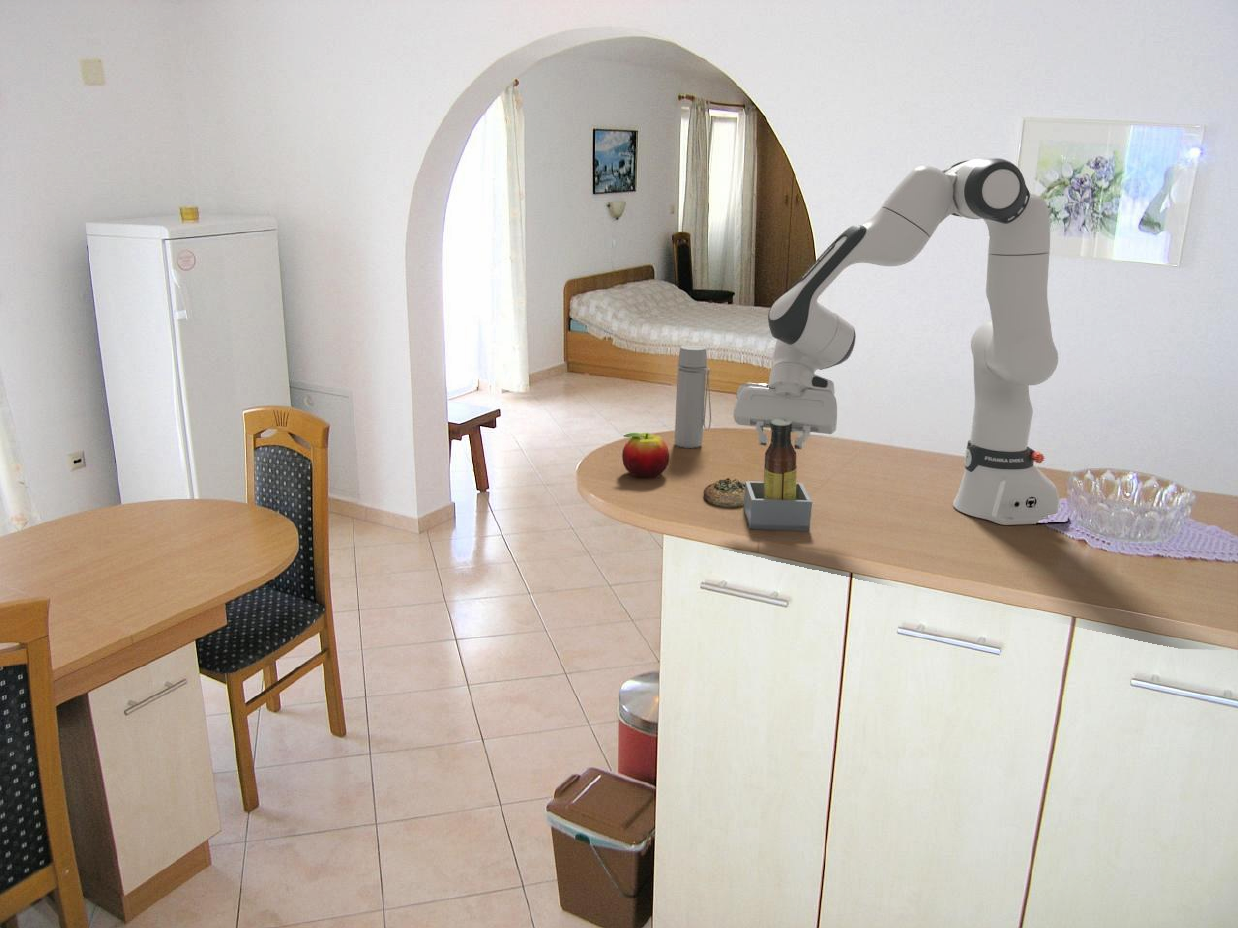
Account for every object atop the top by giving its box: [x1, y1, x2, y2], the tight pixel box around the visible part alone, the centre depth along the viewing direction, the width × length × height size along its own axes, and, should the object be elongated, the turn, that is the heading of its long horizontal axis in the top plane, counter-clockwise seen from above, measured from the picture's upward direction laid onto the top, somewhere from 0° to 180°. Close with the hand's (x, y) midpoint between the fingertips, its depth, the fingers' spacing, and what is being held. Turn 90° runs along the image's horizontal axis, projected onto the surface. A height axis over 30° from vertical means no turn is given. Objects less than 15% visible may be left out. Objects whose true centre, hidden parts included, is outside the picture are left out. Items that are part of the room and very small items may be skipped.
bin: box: [743, 480, 813, 532], centre depth 190 cm, size 12×12×6 cm
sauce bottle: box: [763, 418, 797, 500], centre depth 185 cm, size 6×6×20 cm
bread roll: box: [703, 477, 745, 508], centre depth 201 cm, size 11×11×5 cm
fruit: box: [621, 432, 670, 479], centre depth 215 cm, size 11×11×10 cm
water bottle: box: [674, 344, 712, 449], centre depth 237 cm, size 9×8×25 cm
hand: (780, 445), depth 185 cm, fingers open, 5 cm apart
